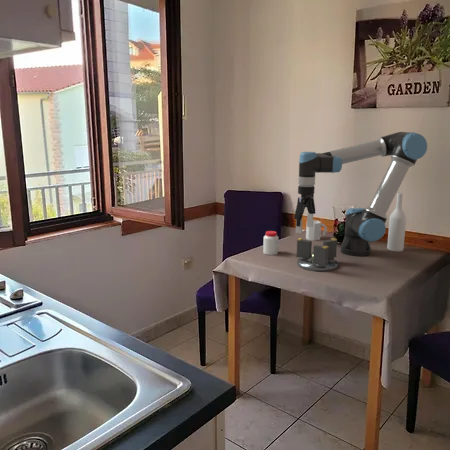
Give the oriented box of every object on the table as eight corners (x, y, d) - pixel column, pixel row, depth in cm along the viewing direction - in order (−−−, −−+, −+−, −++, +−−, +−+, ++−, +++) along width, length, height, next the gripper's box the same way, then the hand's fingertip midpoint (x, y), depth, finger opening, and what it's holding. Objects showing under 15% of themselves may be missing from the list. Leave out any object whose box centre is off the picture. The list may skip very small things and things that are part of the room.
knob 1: (311, 258, 220) (312, 239, 218) (308, 261, 217) (309, 241, 214) (299, 256, 224) (300, 237, 221) (295, 258, 220) (296, 239, 218)
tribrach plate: (333, 258, 226) (334, 245, 224) (342, 271, 207) (342, 257, 206) (295, 258, 226) (295, 245, 225) (300, 271, 208) (300, 256, 206)
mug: (307, 240, 258) (307, 223, 256) (304, 236, 267) (305, 220, 264) (328, 240, 258) (329, 223, 256) (325, 236, 266) (326, 220, 264)
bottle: (406, 249, 240) (411, 193, 232) (396, 252, 235) (401, 195, 228) (393, 246, 246) (398, 191, 239) (383, 248, 242) (388, 192, 235)
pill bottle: (277, 255, 232) (278, 234, 229) (262, 254, 233) (262, 233, 231) (278, 251, 239) (279, 230, 236) (264, 250, 241) (264, 230, 238)
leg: (311, 265, 210) (312, 245, 208) (317, 263, 213) (317, 243, 211) (323, 268, 206) (324, 247, 204) (328, 266, 209) (329, 245, 207)
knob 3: (327, 261, 216) (328, 241, 214) (321, 258, 220) (321, 239, 218) (337, 259, 219) (338, 239, 217) (331, 256, 223) (332, 237, 221)
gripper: (308, 181, 224) (306, 223, 229) (287, 188, 203) (286, 234, 208) (323, 182, 220) (321, 225, 225) (303, 189, 199) (301, 236, 204)
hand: (304, 229), depth 217 cm, fingers open, 13 cm apart
